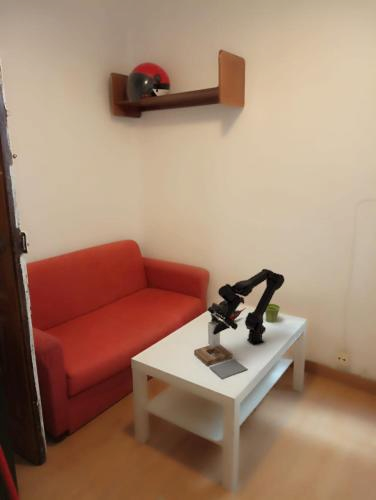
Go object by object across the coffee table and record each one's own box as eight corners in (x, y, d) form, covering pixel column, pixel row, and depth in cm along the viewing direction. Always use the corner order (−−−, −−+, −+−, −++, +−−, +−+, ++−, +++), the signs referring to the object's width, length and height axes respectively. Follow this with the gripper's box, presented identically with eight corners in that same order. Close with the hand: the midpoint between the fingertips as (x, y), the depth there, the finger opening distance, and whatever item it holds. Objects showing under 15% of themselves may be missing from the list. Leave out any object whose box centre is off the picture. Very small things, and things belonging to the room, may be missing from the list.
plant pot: (279, 317, 219) (279, 303, 217) (279, 324, 210) (280, 310, 208) (263, 316, 221) (263, 303, 219) (263, 323, 212) (263, 309, 210)
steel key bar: (215, 341, 178) (215, 320, 175) (219, 345, 175) (219, 323, 172) (208, 343, 176) (208, 322, 173) (212, 347, 173) (212, 325, 170)
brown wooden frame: (218, 347, 186) (218, 342, 186) (231, 357, 176) (231, 353, 176) (194, 354, 180) (194, 350, 179) (207, 366, 170) (207, 361, 169)
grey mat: (234, 359, 174) (234, 358, 174) (247, 370, 166) (247, 368, 166) (209, 368, 168) (209, 367, 168) (221, 379, 159) (221, 378, 159)
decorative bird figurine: (221, 324, 211) (221, 308, 209) (244, 316, 221) (244, 301, 219) (225, 326, 209) (225, 310, 206) (247, 318, 219) (247, 302, 216)
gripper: (210, 290, 179) (191, 316, 177) (232, 303, 163) (211, 332, 161) (223, 302, 185) (205, 327, 183) (246, 316, 169) (226, 343, 167)
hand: (211, 332), depth 173 cm, fingers closed on steel key bar, 4 cm apart
